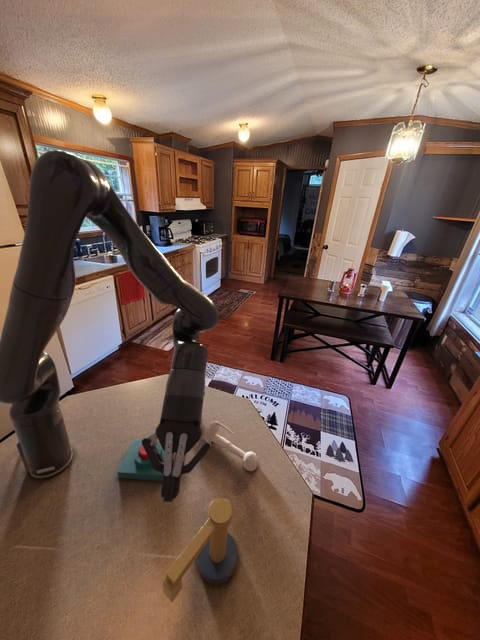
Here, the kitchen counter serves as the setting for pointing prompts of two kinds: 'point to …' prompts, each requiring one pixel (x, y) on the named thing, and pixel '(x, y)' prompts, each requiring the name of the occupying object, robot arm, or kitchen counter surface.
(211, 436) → the faucet
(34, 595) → the kitchen counter surface
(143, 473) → the control block
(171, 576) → the spout
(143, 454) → the button
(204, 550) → the tap base
